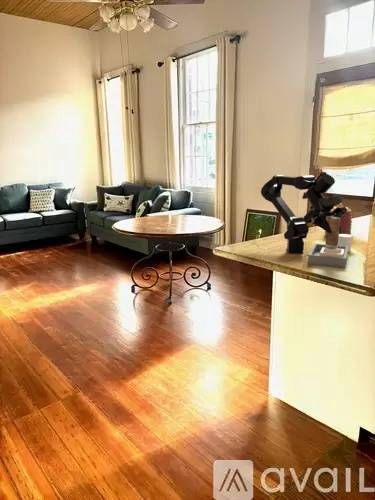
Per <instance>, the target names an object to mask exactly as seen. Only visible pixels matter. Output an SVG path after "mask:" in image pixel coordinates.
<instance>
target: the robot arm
mask: <svg viewBox="0 0 375 500" xmlns="http://www.w3.org/2000/svg"><path fill="white" fill-rule="evenodd" d="M335 182H336V179H335V178H334V177H333V175H330V174H328V173H327V172H326V171H321V172H320V173H319V175H318V176H317V178H316V176H314V175H299V176H289V175H283V174H276V175H273V176H272V178H271V179H270V180H268V181H267V182H265V183H264V184H263V186H262V188H261V189H260V193H261V197H263V198H264V199H265V200H266V201H267V202H269V203H271V204H272V205H273V206H274V208H275V209H276V211H277V212H278V213H279V214H280V216H281V217H282V218H283V220H284V222H285V223H286V231H285V232H284V233H283V236H284V239H285V240H287V242H286V243H287V244H286V245H287V246H286V248H285V251H286V252H287V253H288V254H304V250H305V249H304V248H305V242H304V239H307V236H308V234H309V230H310V229H309V225H308V224H311V223H312V224H313V225H315V226H317V227H318V228H321V229H322V230H324V232H325V231H327V232H328V233H332V231H331V228H330V226H329V224H328V222H327V221H326V219H327V217H338V218H341V217H342V216H343V215H344V214H345V213H346V212H347V209H346V207H347V206H343V207H337V205H338V204H340V203H341V202H343V197H342V196H341V195H340V194H335V195H333V196H329V197H325V196H324V195H323V194H326V193H327V192H328V191H329V190H330V189H331V188H332V187H333V185H334V184H336V183H335ZM283 186H292V187H294V188H296V189H297V190H300V191H302V190H307V191H306V192H303V195H302V196H301V197H302V199H303V200H304V199H305V200H306V199H307V200H308V202H309V204H310V205H311V206H310V207H309V208H310V210H308V211H307V213H306V214H305V215H304V216H303V217H302V216H300V217H299V216H298V217H297V216H296V215H295V214H294V212H293V211H292V209H291V208H290V207H289V205H288V204H287V203H286V201H285V200H284V199H283V198H282V194H281V193H282V190H283ZM334 207H336V208H335V209H334V210H333V211H331V209H333V208H334ZM312 220H313V222H312ZM340 231H341V226H340V228H339V232H340Z"/></svg>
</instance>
